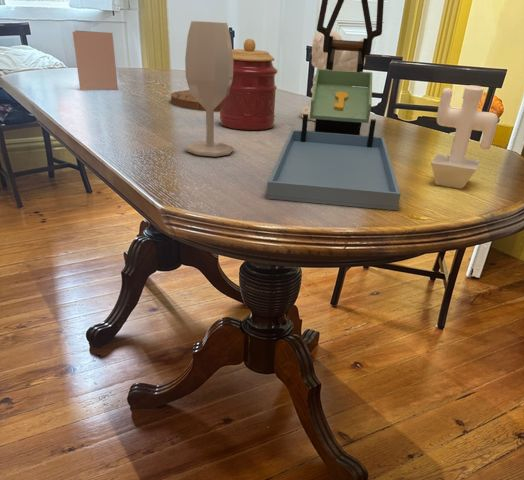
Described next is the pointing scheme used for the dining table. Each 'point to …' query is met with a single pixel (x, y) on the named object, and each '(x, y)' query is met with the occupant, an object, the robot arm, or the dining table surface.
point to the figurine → (462, 136)
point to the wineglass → (209, 77)
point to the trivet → (188, 101)
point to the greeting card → (95, 60)
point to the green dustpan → (342, 89)
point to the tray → (335, 171)
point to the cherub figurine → (341, 60)
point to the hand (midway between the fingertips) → (344, 70)
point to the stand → (338, 128)
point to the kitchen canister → (250, 90)
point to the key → (340, 100)
